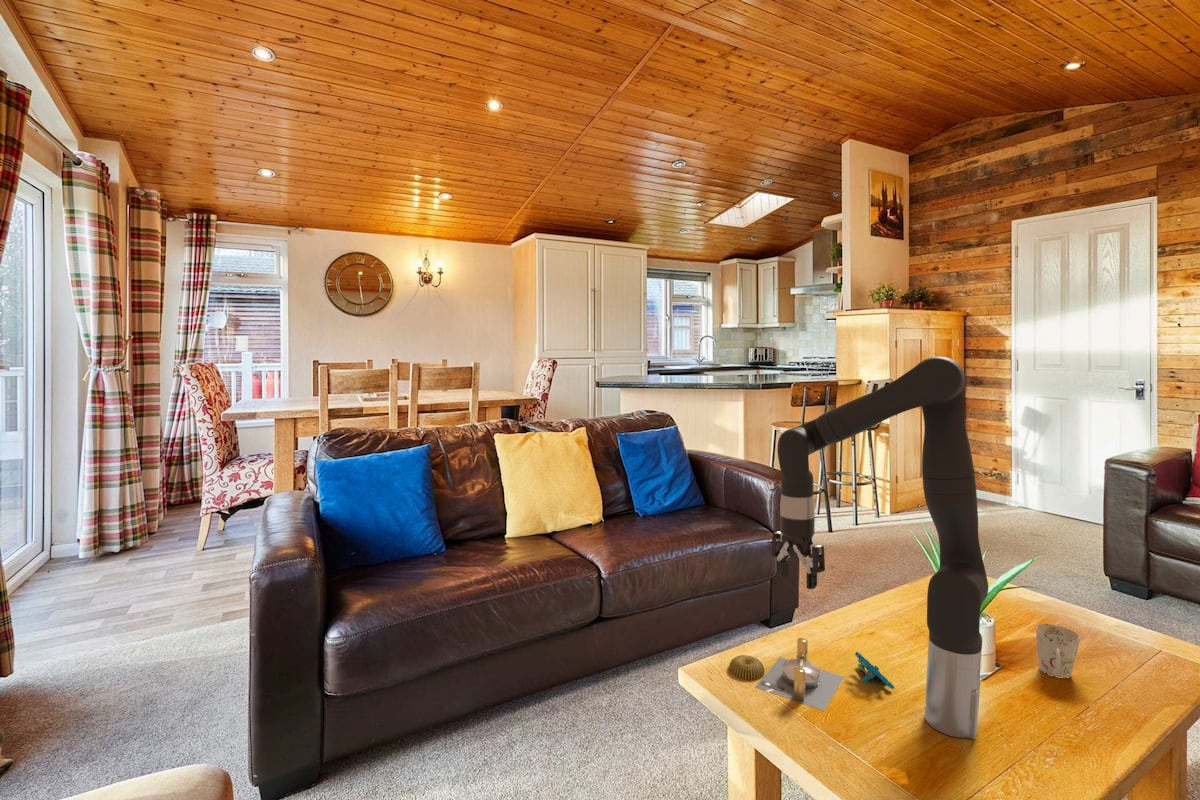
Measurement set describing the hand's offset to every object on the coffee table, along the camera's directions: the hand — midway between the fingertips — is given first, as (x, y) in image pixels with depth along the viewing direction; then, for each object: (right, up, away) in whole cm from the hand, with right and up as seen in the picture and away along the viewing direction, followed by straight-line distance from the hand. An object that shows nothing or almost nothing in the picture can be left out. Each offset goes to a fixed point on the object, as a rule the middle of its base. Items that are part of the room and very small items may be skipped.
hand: (797, 582), depth 140 cm
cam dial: (-1, -21, -4) cm, 22 cm away
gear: (+16, -23, -3) cm, 28 cm away
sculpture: (-12, -23, +1) cm, 25 cm away
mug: (+61, -23, +1) cm, 65 cm away
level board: (-1, -23, -4) cm, 23 cm away
